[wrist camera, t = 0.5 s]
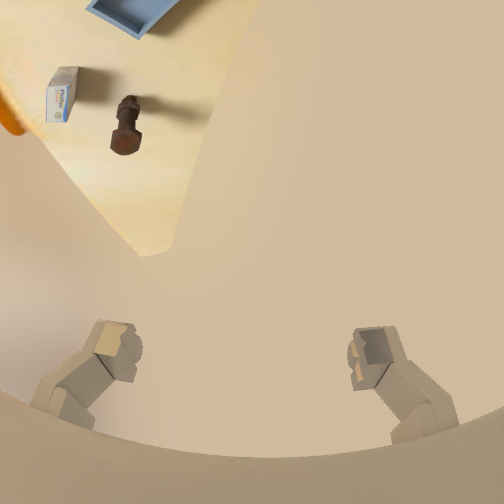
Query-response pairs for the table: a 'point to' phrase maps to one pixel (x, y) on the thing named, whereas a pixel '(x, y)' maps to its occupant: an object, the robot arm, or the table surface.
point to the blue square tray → (131, 13)
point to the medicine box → (61, 94)
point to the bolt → (126, 128)
